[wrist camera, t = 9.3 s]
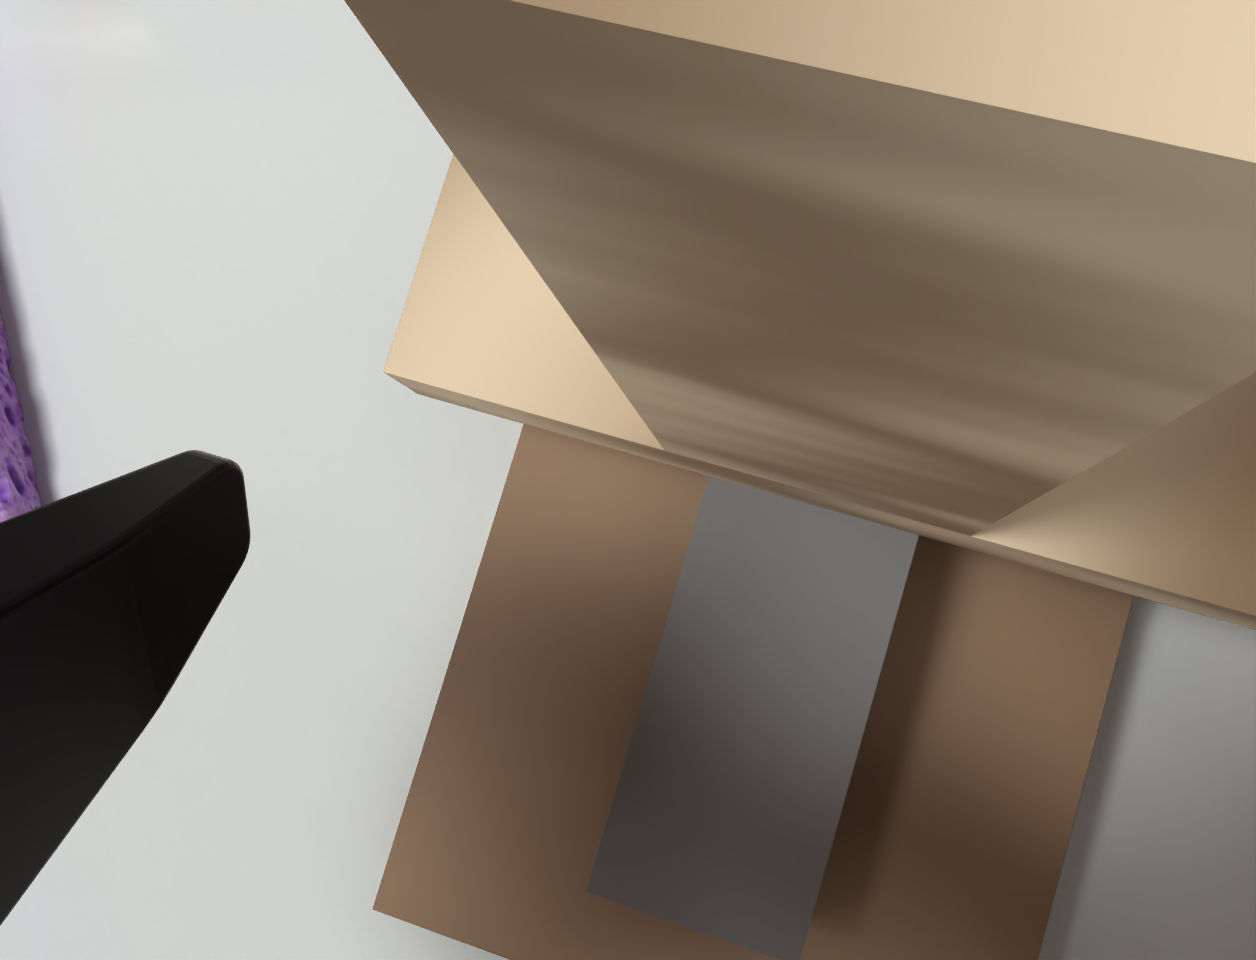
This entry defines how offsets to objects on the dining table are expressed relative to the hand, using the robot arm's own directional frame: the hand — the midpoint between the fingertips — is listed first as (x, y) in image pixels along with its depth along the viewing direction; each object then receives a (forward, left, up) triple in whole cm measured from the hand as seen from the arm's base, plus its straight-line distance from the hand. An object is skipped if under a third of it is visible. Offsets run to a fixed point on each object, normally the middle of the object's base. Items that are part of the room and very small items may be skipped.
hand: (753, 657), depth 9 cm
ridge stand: (+1, +4, -11) cm, 12 cm away
